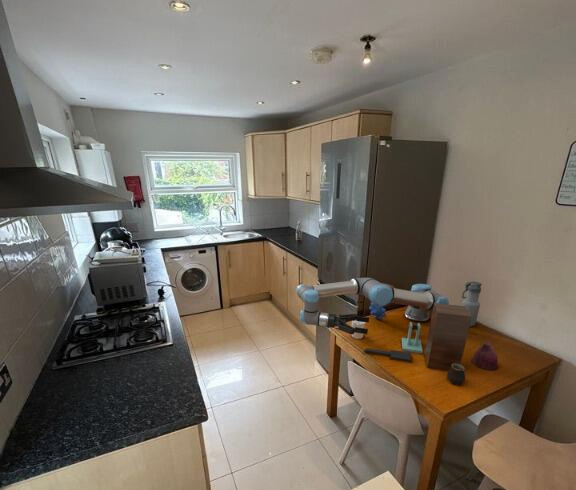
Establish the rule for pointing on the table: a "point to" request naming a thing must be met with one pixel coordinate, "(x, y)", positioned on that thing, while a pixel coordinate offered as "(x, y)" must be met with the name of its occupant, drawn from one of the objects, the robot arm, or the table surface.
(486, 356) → the purple beanie hat
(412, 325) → the black knobbed rod
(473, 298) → the water bottle
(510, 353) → the table surface
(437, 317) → the shelf block
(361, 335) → the white cup
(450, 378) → the mate gourd
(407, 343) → the mounting bracket
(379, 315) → the grapes
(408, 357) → the spatula
